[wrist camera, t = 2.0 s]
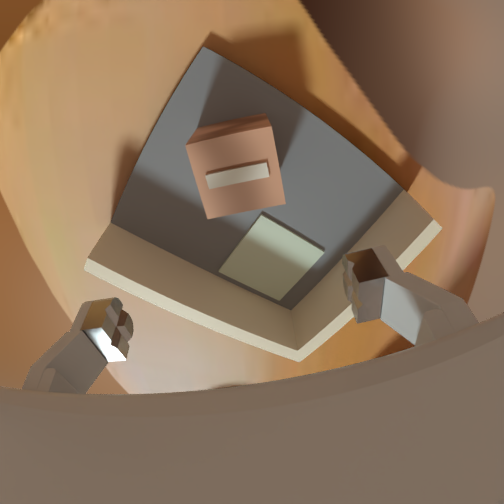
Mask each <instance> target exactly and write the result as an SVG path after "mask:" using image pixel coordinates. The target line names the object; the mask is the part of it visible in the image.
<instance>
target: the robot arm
mask: <svg viewBox="0 0 504 504" xmlns="http://www.w3.org/2000/svg"><path fill="white" fill-rule="evenodd" d="M342 265H343V267H344V269H345V271H344V273H343V286H344V291H345V294H346V297H347V299H348V301H350V302H352V307H351V310H352V312H353V314H354V317H355V319H356V322H357V323H361V322H366V321H370V320H375V319H379V318H381V320H382V321H383V322H385V323H386V324H387V325H389V326H390V327H391V328H393V329H394V330H395V331H397V332H398V333H399V334H401V335H402V336H403V337H405V338H406V339H407V340H409V341H410V342H411V343H412V344H414V345H415V346H414V347H412V348H409V349H406V350H403V351H399V352H396V353H393V354H389V355H386V356H382V357H379V358H375V359H372V360H368V361H364V362H360V363H356V364H353V365H348V366H344V367H340V368H336V369H332V370H327V371H323V372H318V373H313V374H308V375H303V376H298V377H293V378H287V379H282V380H276V381H270V382H264V383H257V384H250V385H243V386H236V387H228V388H219V389H209V390H199V391H187V392H173V393H154V394H86V392H87V391H88V389H89V388H90V387H91V385H92V384H93V383H94V381H95V380H96V379H97V377H98V376H99V374H100V373H101V372H102V370H103V369H104V367H105V366H106V365H107V364H108V362H109V361H120V360H126V358H127V354H128V350H129V344H128V341H129V340H130V339H131V338H132V335H133V322H132V319H131V317H130V316H129V314H128V313H127V312H125V311H124V310H122V307H123V304H122V303H121V301H120V300H119V298H115V297H114V298H107V299H100V300H95V301H87V302H84V303H83V304H82V305H81V308H80V310H79V312H78V314H77V316H76V318H75V321H74V323H73V325H72V327H71V330H70V332H66V333H65V334H64V335H63V336H62V337H61V338H60V339H59V340H58V341H57V342H56V343H55V344H54V345H53V346H52V347H51V348H50V349H48V350H47V352H45V353H44V354H43V355H42V356H41V357H40V358H39V359H38V360H37V361H36V362H35V363H34V364H33V365H32V366H31V368H30V370H29V372H28V375H27V377H26V380H25V382H24V385H23V387H22V389H16V388H8V387H1V386H0V504H504V312H503V313H501V314H499V315H497V316H494V317H492V318H490V319H487V320H485V321H483V322H480V323H479V322H478V321H477V319H476V318H475V316H474V314H473V313H472V312H471V310H470V309H469V307H468V305H467V304H466V303H465V301H464V300H463V299H462V298H460V297H458V296H456V295H454V294H452V293H450V292H448V291H446V290H444V289H442V288H440V287H438V286H436V285H434V284H432V283H430V282H428V281H426V280H424V279H422V278H419V277H417V276H415V275H413V274H411V273H409V272H405V273H404V272H403V271H402V269H401V268H400V266H399V265H398V263H397V262H396V260H395V259H394V257H393V256H392V254H391V253H390V251H389V250H388V249H387V247H386V246H385V245H380V246H376V247H371V248H369V249H365V250H360V251H355V252H351V253H346V254H343V256H342Z"/></svg>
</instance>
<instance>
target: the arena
mask: <svg viewBox="0 0 504 504" xmlns="http://www.w3.org/2000/svg"><path fill="white" fill-rule="evenodd" d="M262 113H266V115H267V117H268V120H269V122H270V124H271V126H272V131H273V136H274V141H275V146H276V152H277V157H278V162H279V168H280V173H281V179H282V185H283V190H284V196H285V202H286V204H283V205H278V206H272V207H267V208H262V209H257V210H251V211H246V212H241V213H236V214H231V215H226V216H221V217H217V218H212V219H207V216H206V213H205V209H204V206H203V203H202V200H201V196H200V193H199V190H198V187H197V183H196V180H195V177H194V174H193V170H192V167H191V164H190V160H189V157H188V153H187V150H186V147H185V145H186V143H187V142H188V140H189V139H190V137H191V136H192V135H193V133H194V132H195V130H196V129H197V128H199V127H203V126H207V125H211V124H215V123H219V122H224V121H228V120H233V119H237V118H242V117H247V116H252V115H257V114H262ZM441 229H442V227H441V226H440V225H439V224H438V223H437V222H436V221H435V220H434V219H433V218H432V217H431V216H430V215H429V214H428V213H427V212H426V211H425V210H424V209H423V208H422V207H421V206H420V205H419V204H418V203H417V202H416V201H415V200H414V199H413V198H412V197H411V196H410V195H409V194H408V193H407V192H406V191H405V190H404V189H403V188H402V187H401V186H400V185H399V184H398V183H397V182H396V181H394V180H393V179H392V178H391V177H390V176H389V175H388V174H387V173H386V172H385V171H383V170H382V169H381V168H380V167H379V166H378V165H377V164H375V163H374V162H373V161H372V160H371V159H370V158H368V157H367V156H366V155H365V154H364V153H362V152H361V151H360V150H359V149H358V148H356V147H355V146H354V145H353V144H352V143H350V142H349V141H348V140H347V139H345V138H344V137H343V136H341V135H340V134H339V133H338V132H336V131H335V130H334V129H332V128H331V127H330V126H328V125H327V124H326V123H324V122H323V121H322V120H320V119H319V118H318V117H316V116H315V115H314V114H312V113H311V112H309V111H308V110H307V109H305V108H304V107H302V106H301V105H300V104H298V103H297V102H295V101H294V100H292V99H291V98H289V97H288V96H286V95H285V94H283V93H282V92H280V91H279V90H277V89H276V88H274V87H273V86H271V85H269V84H268V83H266V82H265V81H263V80H262V79H260V78H258V77H257V76H255V75H253V74H252V73H250V72H248V71H247V70H245V69H243V68H242V67H240V66H238V65H236V64H235V63H233V62H231V61H229V60H228V59H226V58H224V57H222V56H220V55H219V54H217V53H215V52H213V51H211V50H209V49H207V48H205V47H202V49H201V50H200V52H199V53H198V55H197V56H196V58H195V59H194V61H193V63H192V64H191V66H190V67H189V69H188V70H187V72H186V74H185V75H184V77H183V78H182V80H181V82H180V83H179V85H178V87H177V88H176V90H175V92H174V93H173V95H172V97H171V98H170V100H169V102H168V104H167V105H166V107H165V109H164V111H163V113H162V114H161V116H160V118H159V120H158V122H157V124H156V125H155V127H154V129H153V131H152V133H151V135H150V137H149V139H148V141H147V143H146V145H145V147H144V149H143V151H142V153H141V155H140V157H139V159H138V161H137V163H136V165H135V167H134V169H133V172H132V174H131V176H130V178H129V180H128V182H127V185H126V187H125V189H124V192H123V194H122V196H121V198H120V201H119V203H118V206H117V208H116V210H115V213H114V215H113V218H112V220H111V223H110V224H109V226H108V227H107V229H106V230H105V232H104V233H103V235H102V236H101V238H100V239H99V241H98V242H97V244H96V245H95V247H94V248H93V250H92V251H91V253H90V255H89V256H88V258H87V261H86V264H85V268H84V270H85V271H87V272H89V273H91V274H92V275H94V276H96V277H98V278H100V279H102V280H104V281H106V282H108V283H110V284H112V285H114V286H116V287H118V288H120V289H122V290H124V291H126V292H128V293H130V294H133V295H135V296H137V297H139V298H141V299H143V300H145V301H147V302H150V303H152V304H154V305H156V306H158V307H160V308H163V309H165V310H167V311H169V312H172V313H174V314H176V315H178V316H181V317H183V318H185V319H188V320H190V321H192V322H195V323H197V324H199V325H202V326H204V327H207V328H209V329H212V330H214V331H217V332H219V333H221V334H224V335H227V336H229V337H232V338H234V339H237V340H239V341H242V342H245V343H247V344H250V345H252V346H255V347H258V348H261V349H263V350H266V351H269V352H272V353H274V354H277V355H280V356H283V357H286V358H289V359H291V360H294V361H297V362H300V361H302V360H303V359H304V358H305V357H307V356H308V355H309V354H310V353H312V352H313V351H314V350H315V349H317V348H318V347H319V346H320V345H321V344H323V343H324V342H325V341H326V340H327V339H329V338H330V337H331V336H332V335H333V334H335V333H336V332H337V331H338V330H339V329H340V328H342V327H343V326H344V325H345V324H346V323H347V322H348V321H350V320H351V319H352V318H353V317H354V314H353V312H352V310H351V307H352V302H350V301H348V299H347V297H346V294H345V291H344V286H343V273H344V271H345V269H344V267H343V265H342V256H343V254H346V253H351V252H355V251H360V250H365V249H369V248H371V247H376V246H380V245H385V246H386V247H387V249H388V250H389V251H390V253H391V254H392V256H393V257H394V259H395V260H396V262H397V263H398V265H399V266H400V268H401V269H402V271H403V270H404V269H405V268H406V267H407V266H408V265H409V264H410V263H411V262H412V261H413V259H414V258H415V257H416V256H417V255H418V254H419V253H420V252H421V251H422V250H423V249H424V248H425V247H426V246H427V245H428V244H429V243H430V241H431V240H432V239H433V238H434V237H435V236H436V235H437V234H438V233H439V232H440V230H441Z"/></svg>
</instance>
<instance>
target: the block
mask: <svg viewBox="0 0 504 504" xmlns="http://www.w3.org/2000/svg"><path fill="white" fill-rule="evenodd" d="M185 147H186V150H187V153H188V157H189V160H190V164H191V167H192V170H193V174H194V177H195V180H196V183H197V187H198V190H199V193H200V196H201V200H202V203H203V206H204V209H205V213H206V216H207V219H212V218H217V217H221V216H226V215H231V214H236V213H241V212H246V211H251V210H257V209H262V208H267V207H272V206H278V205H283V204H286V202H285V196H284V190H283V185H282V179H281V173H280V168H279V162H278V157H277V152H276V146H275V141H274V136H273V131H272V126H271V124H270V122H269V120H268V117H267V115H266V113H262V114H257V115H252V116H247V117H242V118H237V119H233V120H228V121H224V122H219V123H215V124H211V125H207V126H203V127H199V128H197V129H196V130H195V132H194V133H193V135H192V136H191V137H190V139H189V140H188V142H187V143H186V145H185Z"/></svg>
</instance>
